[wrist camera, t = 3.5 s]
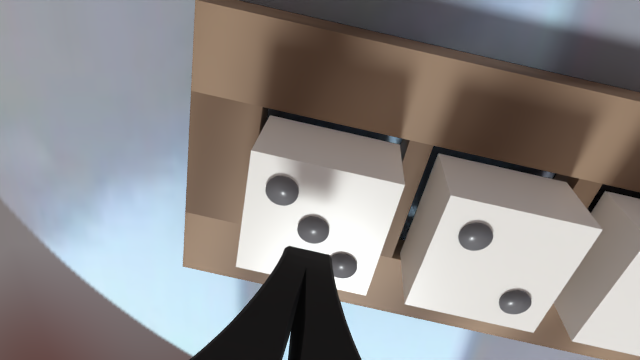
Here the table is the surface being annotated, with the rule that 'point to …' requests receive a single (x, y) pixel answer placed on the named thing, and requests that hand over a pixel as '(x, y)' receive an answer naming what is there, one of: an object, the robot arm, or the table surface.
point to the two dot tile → (493, 243)
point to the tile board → (388, 130)
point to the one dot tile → (607, 281)
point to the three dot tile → (319, 199)
